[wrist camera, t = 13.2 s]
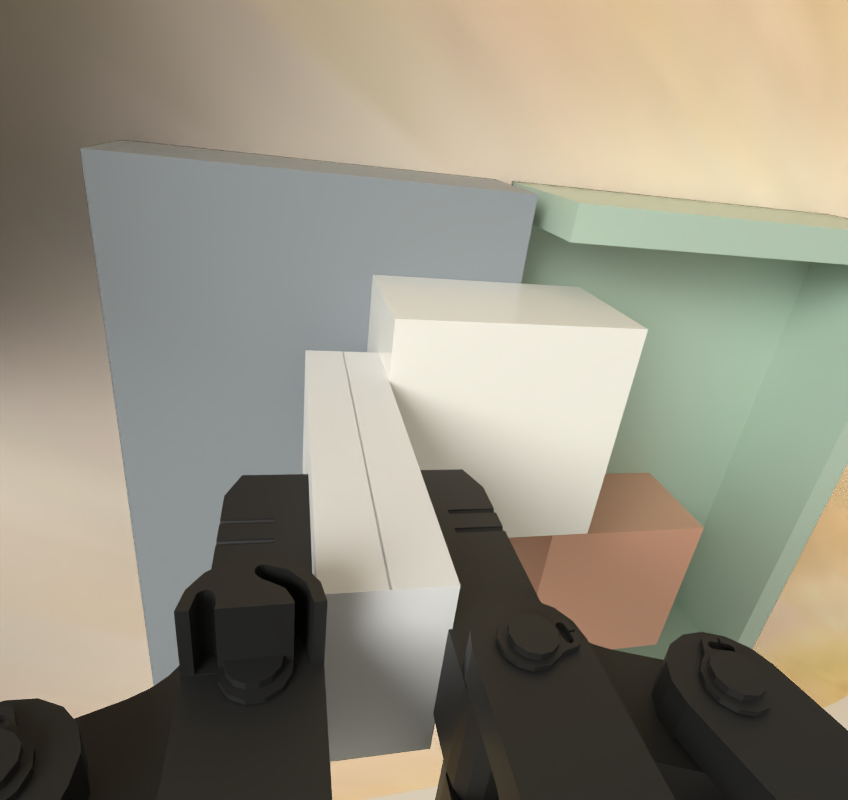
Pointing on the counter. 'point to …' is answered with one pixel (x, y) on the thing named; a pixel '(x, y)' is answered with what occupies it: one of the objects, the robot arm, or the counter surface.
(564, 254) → the tray
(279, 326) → the board
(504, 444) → the tile
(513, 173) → the counter surface
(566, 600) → the tile
